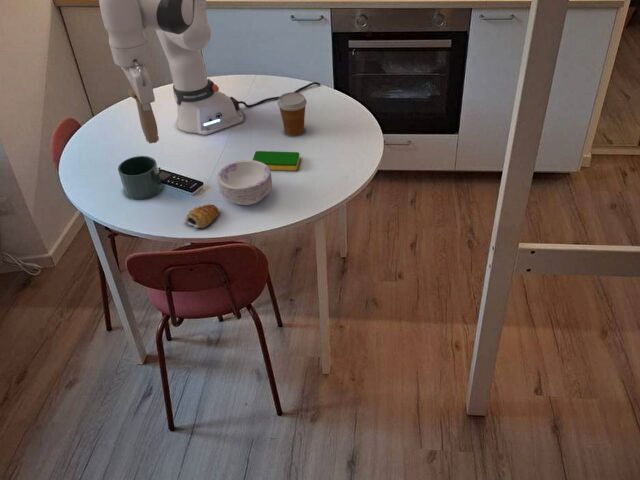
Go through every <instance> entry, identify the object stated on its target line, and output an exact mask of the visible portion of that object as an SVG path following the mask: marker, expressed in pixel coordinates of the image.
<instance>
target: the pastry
mask: <svg viewBox="0 0 640 480" xmlns="http://www.w3.org/2000/svg"><path fill="white" fill-rule="evenodd" d="M218 215H219V208H218V207H217V206H216V205H215V204H203V205H199V206H198V207H194V208H193V209H192V210H189V211H188V213H187V214H186V216H185V218H184V221H185V222H186V223H187V225H189V226H191V227H194V228H196V229H203V228H206V227H207V226H208V225H210V224H212V223H213V222H214V221H215V220H216V218H217V217H218Z"/></svg>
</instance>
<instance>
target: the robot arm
mask: <svg viewBox="0 0 640 480" xmlns="http://www.w3.org/2000/svg"><path fill="white" fill-rule="evenodd" d="M98 3H99V9H100V14H101V19H102V22H103V25H104V28H105V30H106V32H107V34H108V44H109V48H110V50H111V56H112V59H113V63H114V64H115V65H116V66H119V67H120V68H121V70H122V71H123V73H124V75H125V76H126V78H127V81H128V82H129V84H130V87H132V88H133V90H134V92H135V94H136V95H137V97H138V99H139V101H140V103H141V105H142V108H143V110H144V111H146V110H150V105H149V103H150V104H151V103H154V102H155V101H156V97H155V93H154V88H153V86H152V82H151V78H150V75H149V72H148V71H147V66H148V63H149V62H150V60H152V55H151V51H150V47H149V42H148V39H147V35H146V34H145V32H144V31H145V30H153V31H155V33H156V35H157V37H158V40H159V43H160V46H161V48H162V50H163V52H164V55H165V57H166V60H167V62H168V65H169V66H168V67H169V71H170V75H171V79H172V84H173V85H172V89H173V90H172V91H173V92H172V93H173V96H174V101H175V103H176V106H177V124H176V125H177V128H178V129H179V130H181V131H183V132H185V133H191V134H199V135H203V136H206V135H207V136H208V135H210V134H212V133H215V132H218V131H221V130H223V129H226V128H229V127H232V126H234V125H237V124H240V123H243V121H244V115H243V112H242V110H241V109H240V104H242V105H244V106H245V108H252V107H255V106H258V105H261V104H262V103H265V102H268V101H273V100H279V97H280V96H281V95H280V96H273V97H272V96H271V97H267V98H264V99H262V100H260V101H258V102H256V103H253V104H247V103H246V102H245V101H243V100H238V99H236V98H235V97H233V96H228V95H227V94H226V93H224V92H221V91H219V90H220V88H219V86H218V85H217V84H215V82H214V81H212V80H211V79H210V78H208V74H207V69H206V64H205V63H206V62H205V59H204V56H203V55H202V54H201V50H204V49H205V48H206V47H207V46H208V45H209V43H210V41H211V37H212V30H211V27H210V25H209V22H208V16H207V0H98ZM314 85H317V86H321V83H319V82H317V81H313V82H310V83H308V84H306V85H303V86H302V87H300V88H297V89H296V90H295V91H293V92H294V93H300V91H302V90H305V89H307V88H308V87H311V86H314ZM152 88H153V89H152Z"/></svg>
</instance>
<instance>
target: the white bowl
mask: <svg viewBox="0 0 640 480" xmlns="http://www.w3.org/2000/svg"><path fill="white" fill-rule="evenodd" d="M271 171H272V170H270V169H269V167H268V166H267V165H265V164H264V163H262V162H259V161H254V160H253V159H244V160H237V161H233V162H231V163H229V164H228V163H227V165H225V166H224V167H222V168H221V169H220V170H219V171H218V173H217V177H216V180H217V185H218V191H219V193H220V196H222V198H224V199H225V200H227V201H230V202H232V203H234V204H236V205H239V206H250V205H254V204H257V203H259V202H260V201H262V200H263V199H264V197H265V196H267V195H268V194H269V193H270V192H271V190H272V187H273V181H272V172H271Z"/></svg>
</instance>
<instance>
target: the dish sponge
mask: <svg viewBox="0 0 640 480" xmlns="http://www.w3.org/2000/svg"><path fill="white" fill-rule="evenodd" d="M300 159H301V157H300V152H299V151H296V152H295V151H274V150H273V151H272V150H271V151H270V150H269V151H267V150H265V151H264V150H256V151H255V152H254V155H253V158H252V160H254V161H259V162H262V163H264V164H265V165H267V166H268V167H269V169H270V171H294V172H295V171H296V172H297V171H298V167H299V163H300Z"/></svg>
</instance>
